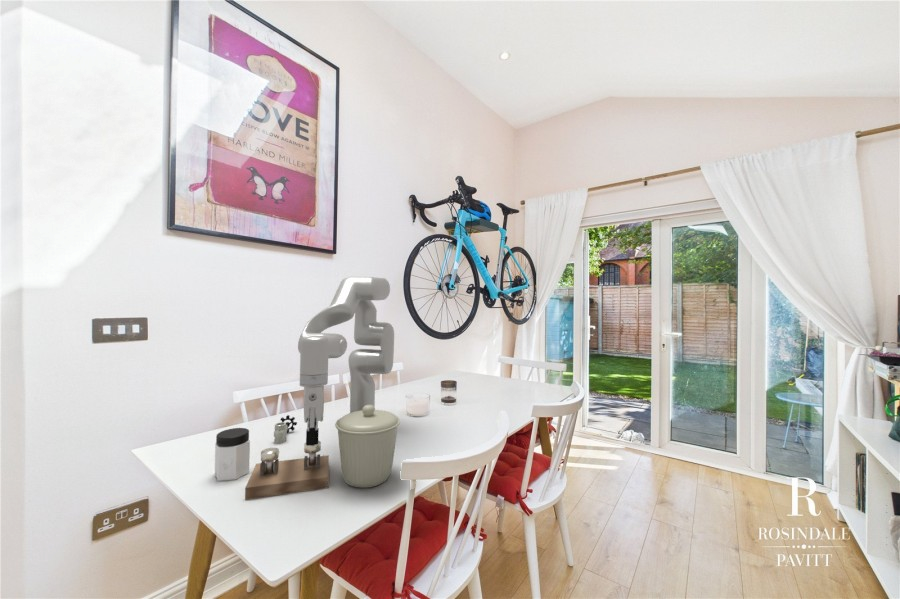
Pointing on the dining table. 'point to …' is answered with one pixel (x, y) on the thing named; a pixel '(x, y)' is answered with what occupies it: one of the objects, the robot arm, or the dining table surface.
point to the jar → (232, 454)
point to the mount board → (288, 477)
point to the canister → (367, 446)
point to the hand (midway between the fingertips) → (312, 443)
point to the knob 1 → (269, 458)
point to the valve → (283, 429)
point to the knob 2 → (312, 452)
